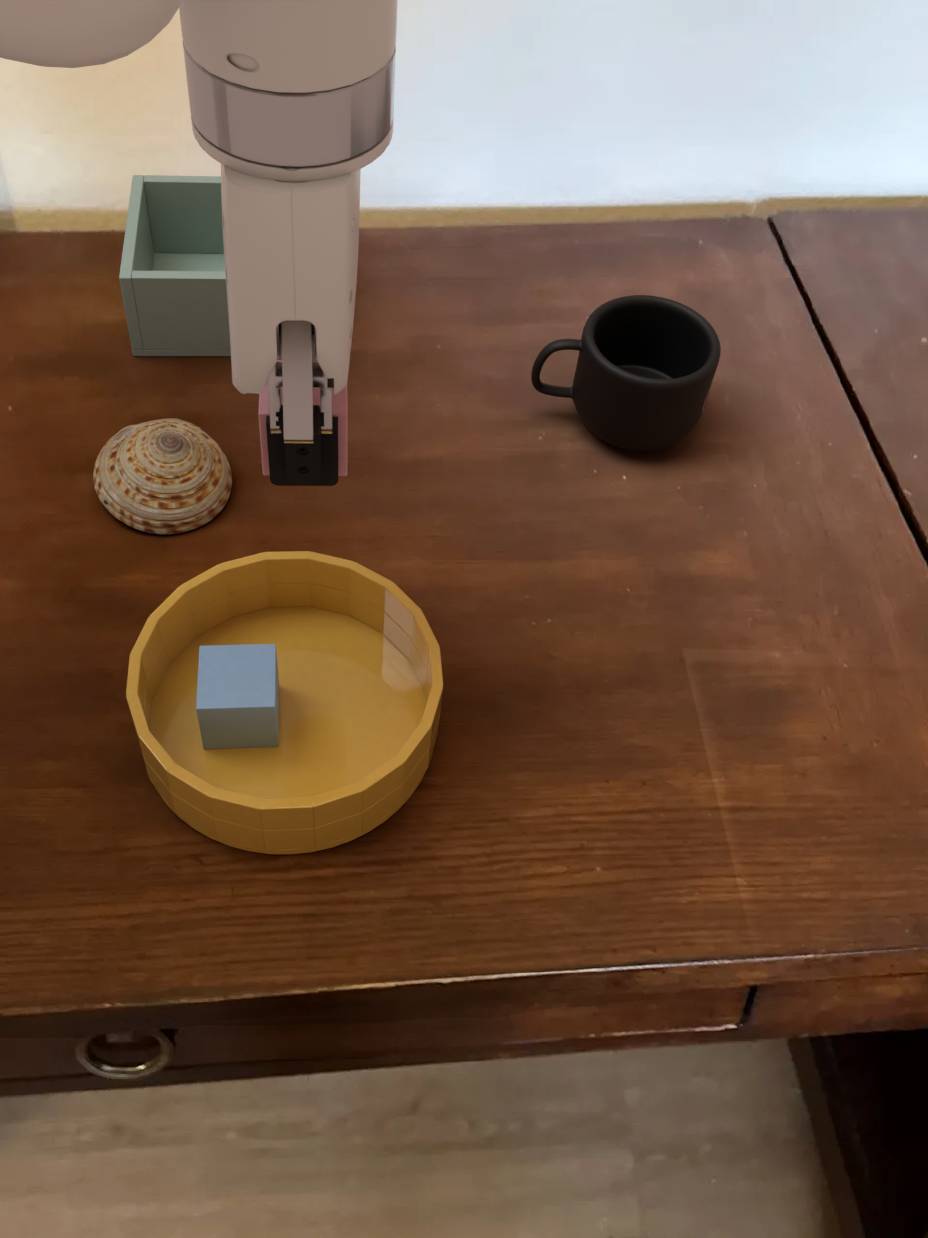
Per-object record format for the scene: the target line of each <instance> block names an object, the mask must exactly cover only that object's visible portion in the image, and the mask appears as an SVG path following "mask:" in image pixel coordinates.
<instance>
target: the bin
mask: <svg viewBox="0 0 928 1238" xmlns="http://www.w3.org/2000/svg"><path fill="white" fill-rule="evenodd" d="M124 230H125V231H124V238H123V245H122V252H121V259H120V268H119V274H118V280H119V281H118V282H119V285H120V290H121V297H122V303H123V308H124V313H125V319H126V324H127V330H128V336H129V341H130V347H131V352H132V356H133V357H231V347H230V331H229V316H228V302H227V288H226V274H225V259H224V244H223V226H222V202H221V176H216V175H215V176H212V175H211V176H209V175H208V176H207V175H205V176H204V175H165V174H164V175H161V174H157V175H156V174H155V175H154V174H144V175H143V174H132V177H131V186H130V193H129V201H128V208H127V216H126V222H125V229H124Z"/></svg>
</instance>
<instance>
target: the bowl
mask: <svg viewBox="0 0 928 1238" xmlns="http://www.w3.org/2000/svg"><path fill="white" fill-rule="evenodd" d="M252 644H276V652H277V665H278V677H279V746H278V747H257V748H228V749H203V744H202V739H201V733H200V728H199V722H198V717H197V711H196V701H197V683H198V665H199V647H200V646H211V645H252ZM441 653H442V652H441V647H440V644H439V642H438V640H437V637H436V636H435V634H434V632H433V630H432V628H431V626H430V624H429V621H428V620H427V618H426V616H425V613H424V612H423V610H422V609H421V608H420V607H419V605H417V604H416V603H415V602H414V601H413V599H411V598H410V597H409V595H407V594H406V593H405V592H404V590H402V589H401V588H400V587H399V586H398V585H397V584H396V583H395V582H394V581H392V580H390V579H389V578H387V577H385V576H383V575H381V574H379V573H377V572H375V571H373V570H371V569H370V568H368V567H366V566H364V565H363V564H360V563H358V562H357V561H354V560H349V559H345V558H342V557H338V556H333V555H329V554H324V553H321V552H320V553H319V552H317V551H311V550H303V551H302V550H293V551H292V550H291V551H262V552H258V553H254V554H251V555H247V556H243V557H240V558H235V559H232V560H231V559H230V560H227V561H223V562H220V563H217V564H215V565H214V566H212V567H210V568H209V569H206V570H205V571H204V572H201V573H199V574H198V575H196V576H195V577H192V578H191V579H189V580H187V581H185V582H183V583H181V584H180V585H179V586H178V587H177V588H175V590H173V591H172V593H171V594H170V595H169V596H167V598H165V600H164V601H163V602H162V603H160V604H159V606H157V607H156V608H155V609H154V611H152V613H150V615H148V617H147V619H146V621H145V623H144V625H143V627H142V630H141V631H140V632H139V635H138V637H137V640H136V641H135V643H134V646H133V647H132V648H131V651H130V653H129V658H128V667H127V668H128V669H127V677H126V678H127V679H126V689H125V698H126V699H125V700H126V702H127V705H128V710H129V714H130V717H131V721H132V726H133V729H134V733H135V736H136V741H137V744H138V747H139V749H140V750H139V751H140V753H141V757H142V761H143V763H144V767H145V770H146V774H147V776H148V779H149V781H150V782H151V783H152V785H153V787H154V789H155V791H156V792H157V794H158V795H159V796H160V798H161V799H162V801H163V802H164V803H165V805H166V806H167V807H168V808H169V809H170V810H171V811H172V812H173V813H174V814H175V815H176V817H178V818H179V819H180V820H181V821H183V822H184V823H185V824H187V825H188V826H189V827H191V828H192V829H193V830H195V831H197V832H198V833H200V834H202V835H203V836H206V837H207V838H209V839H211V840H213V841H216V842H218V843H220V844H223V845H225V846H228V847H231V848H235V849H238V850H243V851H245V852H252V853H258V854H266V855H298V854H307V853H314V852H318V851H323V850H329V849H332V848H335V847H338V846H341V845H343V844H346V843H349V842H351V841H354V840H356V839H357V838H359V837H362V836H364V835H366V834H367V833H369V832H371V831H373V830H374V829H376V828H377V827H378V826H380V825H382V824H383V823H385V822H386V821H387V820H388V819H389V818H391V817H392V816H393V815H394V814H395V813H397V812H398V811H399V810H400V809H401V808H402V806H404V804H405V803H406V802H407V801H408V800H409V799H410V798H411V797H412V795H413V794H414V793H415V791H416V789H418V786H419V785H420V783H421V782H422V781H423V778H424V776H425V774H426V772H427V770H428V768H429V765H430V763H431V760H432V757H433V753H434V751H435V745H436V741H437V738H438V734H439V727H440V720H441V710H442V702H443V694H444V693H443V692H444V678H443V676H444V675H443V666H442V656H441Z"/></svg>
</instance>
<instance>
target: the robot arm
mask: <svg viewBox="0 0 928 1238" xmlns="http://www.w3.org/2000/svg"><path fill="white" fill-rule="evenodd" d="M177 12H179V22H180V30H181V38H182V47H183V48H182V49H183V57H184V58H183V59H184V66H185V76H186V84H187V85H186V86H187V94H188V102H189V104H188V105H189V113H190V120H191V121H190V122H191V128H192V133H193V137H194V139H195V140H196V142H197V143H198V145H199V147H200V148H201V149H202V150H203V151H204V153H206V154H207V155H208V156H210V158H212V159H213V160H214V161H216V162H218V163H220V177H221V202H222V226H223V244H224V259H225V274H226V288H227V302H228V316H229V331H230V347H231V356H230V364H231V365H230V366H231V383H232V386H233V387H234V388H235V389H236V390H237V391H238V392H239V393H240V394H242V395H247V394H257V395H259V394H260V393H261V392H262V391H263V389H264V387H265V385H266V383H267V381H268V393H269V413H270V416H266V430H267V445H268V459H269V473H270V475H269V481H270V483H271V484H272V485H274V486H277V487H280V486H281V487H333V486H335V485H337V484H338V483H339V476H338V417H332V390H334V395H336V394H337V393H339V392H340V391H341V390H343V389H344V388H345V386H346V385H347V386H348V381H349V371H350V362H351V351H352V343H353V342H352V341H353V334H354V333H353V331H354V322H355V321H354V320H355V308H356V297H357V296H356V295H357V283H358V282H357V281H358V266H359V265H358V264H359V246H360V245H359V244H360V243H359V242H360V240H359V239H360V211H361V210H360V209H361V171H362V169H363V168H365V167H367V166H369V165H370V164H372V163H373V162H374V161H376V160H377V159H378V158H379V157H380V156H382V155H383V154H384V153H385V151H386V150H387V148H388V147H389V145H390V144H391V142H392V139H393V133H394V121H395V117H394V113H395V112H394V110H395V109H394V108H395V86H396V85H395V83H396V81H395V80H396V55H397V53H396V51H397V49H396V48H397V47H396V44H397V28H398V27H397V24H398V0H0V59H4V60H10V61H12V62H13V61H14V62H19V63H22V64H23V63H24V64H29V65H33V66H37V67H43V68H44V67H45V68H63V69H64V68H65V69H78V68H86V67H93V66H100V65H105V64H108V63H112V62H113V61H117V60H119V59H122V58H125V57H128V56H130V55H131V54H133V53H134V52H136V51H137V50H139V49H141V48H142V47H144V46H146V45H147V44H149V43H150V42H151V41H153V40H154V39H155V37H157V36H158V35H159V34H160V33H161V32H162V31H163V30H164V29H165V28H166V27H167V26H168V25H170V23H171V21H172V19H173V18H174V16H175V15H176V13H177ZM277 360H282V362H277ZM313 361H317V362H318V363H316V362H313ZM282 387H283V405H282ZM313 387H320V403H321V409H320V406H319V405H313Z"/></svg>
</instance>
